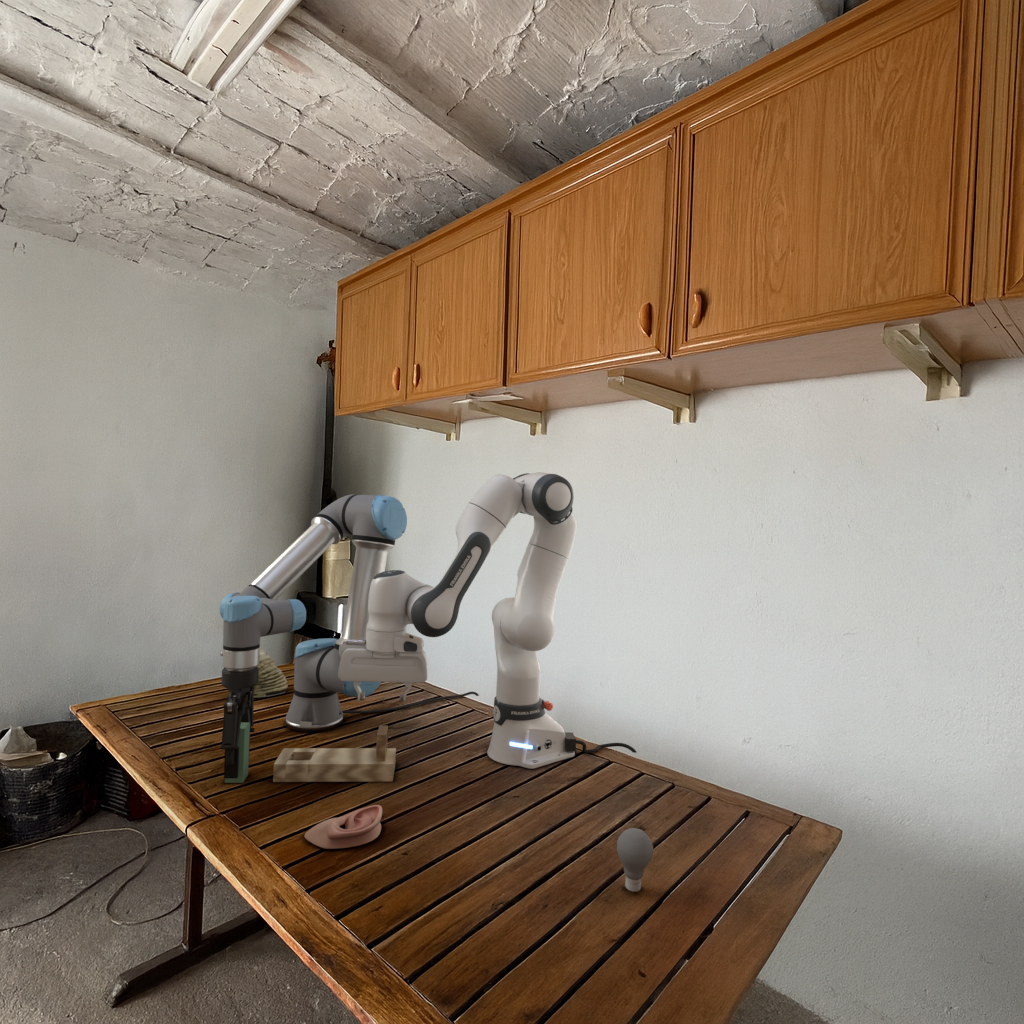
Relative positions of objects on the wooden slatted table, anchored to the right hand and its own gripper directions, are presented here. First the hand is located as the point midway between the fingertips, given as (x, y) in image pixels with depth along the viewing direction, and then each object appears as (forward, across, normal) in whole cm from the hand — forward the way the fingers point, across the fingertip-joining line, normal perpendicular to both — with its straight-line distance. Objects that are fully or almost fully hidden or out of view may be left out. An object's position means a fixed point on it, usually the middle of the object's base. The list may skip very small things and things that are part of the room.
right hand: (381, 700), depth 146 cm
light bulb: (+16, +46, -46) cm, 67 cm away
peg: (+18, -30, -3) cm, 35 cm away
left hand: (+15, -30, -3) cm, 34 cm away
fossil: (+17, -43, +57) cm, 73 cm away
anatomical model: (+17, -4, -27) cm, 32 cm away
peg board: (+17, -9, 0) cm, 19 cm away
